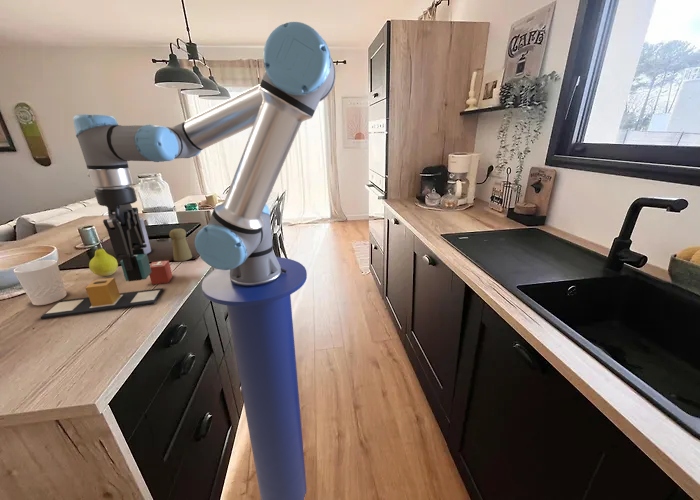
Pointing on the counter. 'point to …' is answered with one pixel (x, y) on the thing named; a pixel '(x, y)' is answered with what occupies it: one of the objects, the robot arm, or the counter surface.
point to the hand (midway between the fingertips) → (139, 275)
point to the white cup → (41, 281)
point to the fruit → (103, 263)
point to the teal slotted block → (140, 266)
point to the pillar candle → (145, 236)
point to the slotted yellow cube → (103, 292)
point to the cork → (180, 245)
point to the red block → (160, 272)
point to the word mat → (86, 307)
